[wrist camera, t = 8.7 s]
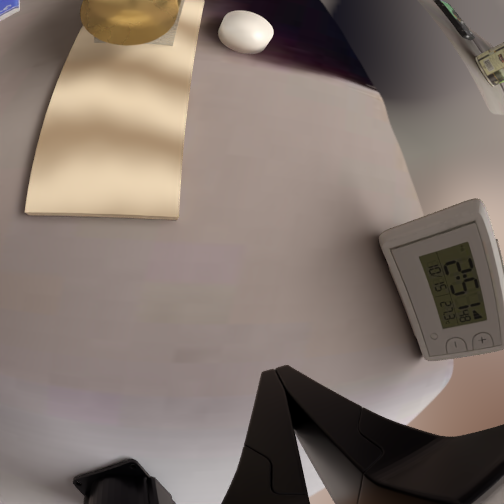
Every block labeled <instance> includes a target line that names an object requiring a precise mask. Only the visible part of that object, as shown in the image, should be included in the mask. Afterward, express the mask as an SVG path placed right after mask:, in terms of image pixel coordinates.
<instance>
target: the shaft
mask: <svg viewBox="0 0 504 504" xmlns="http://www.w3.org/2000/svg"><path fill="white" fill-rule="evenodd" d="M180 5H181V0H84V1H83V3H82V5H81V10H80V17H81V21H82V24H83V25H84V27H85V29H86V30H87V31H88V32H89V33H90V34H91V35H93V36H94V37H96V38H97V39H99V40H102V41H104V42H107V43H110V44H115V45H125V46H128V45H139V44H144V43H148V42H151V41H154V40H156V39H158V38H160V37H161V36H163V35H164V34H166V33H167V32H168V31H169V30H170V29H171V27H172V26H173V25H174V23H175V21H176V18H177V15H178V11H179V8H180Z"/></svg>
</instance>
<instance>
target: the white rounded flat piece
mask: <svg viewBox="0 0 504 504" xmlns="http://www.w3.org/2000/svg"><path fill="white" fill-rule="evenodd" d="M218 37H219V39H220V41H221V42H222V43H223V44H224V45H225V46H226V47H228V48H230V49H231V50H234V51H236V52H239V53H243V54H256V53H259V52H261V51H263V50H264V49H265V47H266V46H267V44H268V43H269V41H270V40H271V38H272V37H273V28H272V26H271V25H270V23H269V22H268V21H267V20H265V19H264V18H263V17H261V16H259V15H257V14H255V13H252V12H248V11H232V12H230V13H228V14H226V15H225V17H224V19H223V21H222V23H221V25H220V28H219V30H218Z"/></svg>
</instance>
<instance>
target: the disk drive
mask: <svg viewBox="0 0 504 504" xmlns="http://www.w3.org/2000/svg"><path fill="white" fill-rule="evenodd" d="M435 2H436V3H437V5H438V6H439V7H440V8H441V9H442V11H443V12H444V13H445V14H446V16H447V17H448V18H449V19H450V21H451V22H452V23H453V25H454V26H455V27H456V29H457V30H458V31H459V33H460V34H461V35H462V37H464V38H466V39H468V40H472V39H474V38H475V37H474V36H473V34H472V33H471V32H470V30H469V29H468V28H467V26H466V25H465V24H464V22H463V21H462V20H461V18H460V17H459V16H458V14H457V13H456V12H455V11H454V9H453V8H452V7H451V6H450V5H449V4H448V3H446V2H445V1H442V0H435Z"/></svg>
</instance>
